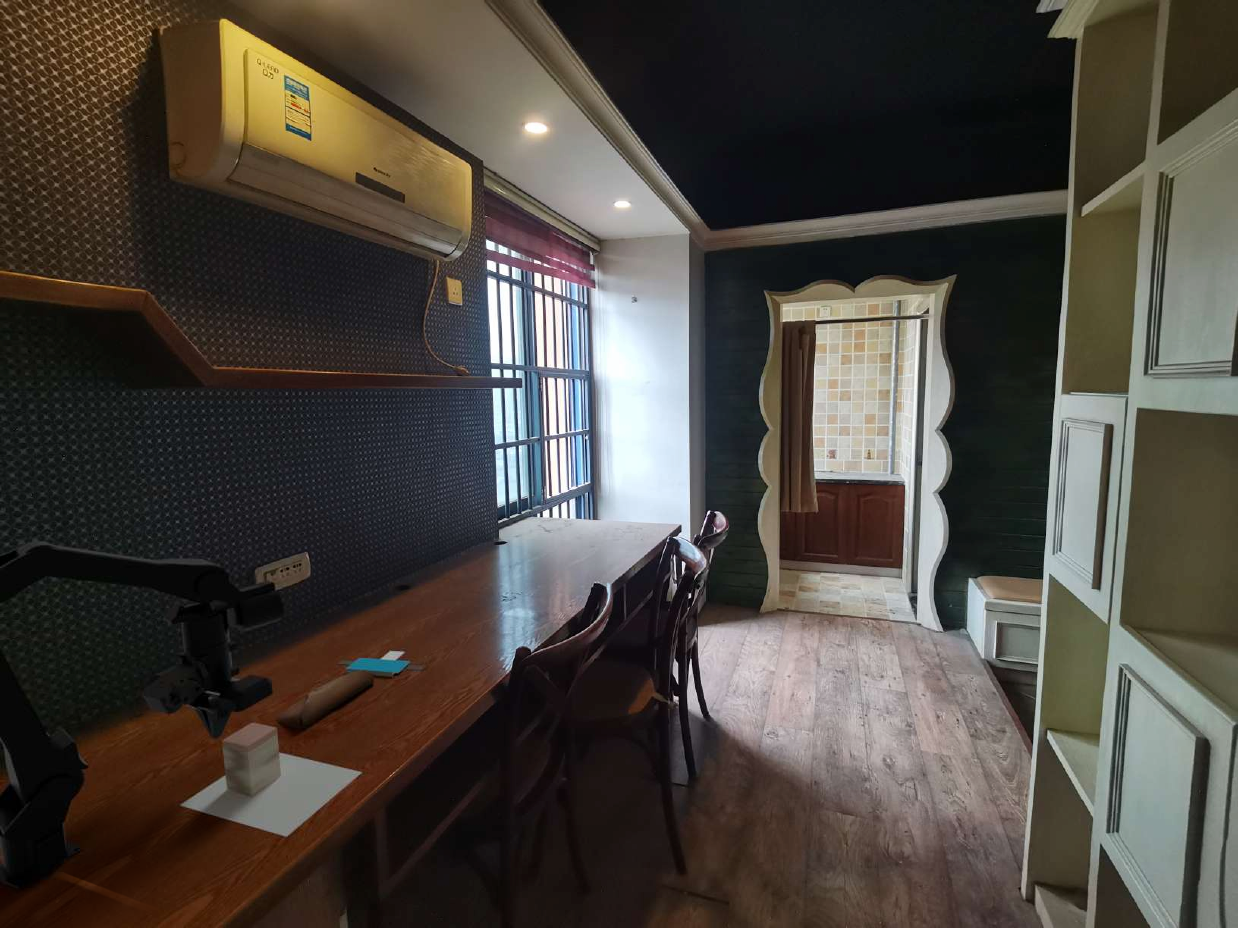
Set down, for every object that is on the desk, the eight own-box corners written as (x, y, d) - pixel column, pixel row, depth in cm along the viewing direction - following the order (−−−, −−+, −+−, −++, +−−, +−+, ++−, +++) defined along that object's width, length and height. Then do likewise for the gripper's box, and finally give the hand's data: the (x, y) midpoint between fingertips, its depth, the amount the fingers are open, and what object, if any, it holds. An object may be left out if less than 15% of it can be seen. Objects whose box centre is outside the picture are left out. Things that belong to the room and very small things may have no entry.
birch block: (227, 789, 88) (222, 740, 87) (256, 769, 93) (252, 722, 92) (252, 796, 86) (247, 746, 85) (281, 775, 91) (276, 727, 90)
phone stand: (438, 657, 134) (437, 650, 133) (411, 682, 122) (411, 675, 122) (358, 651, 137) (357, 644, 137) (324, 676, 125) (324, 668, 125)
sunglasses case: (341, 678, 123) (353, 654, 121) (366, 698, 121) (378, 674, 120) (267, 724, 106) (279, 697, 104) (294, 749, 104) (307, 722, 103)
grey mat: (180, 807, 85) (179, 805, 85) (265, 751, 98) (265, 748, 98) (286, 839, 79) (286, 836, 79) (362, 774, 92) (362, 772, 92)
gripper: (104, 656, 84) (117, 757, 86) (199, 674, 79) (210, 781, 80) (183, 626, 95) (192, 717, 97) (271, 640, 89) (279, 736, 91)
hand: (216, 737), depth 91 cm, fingers closed
